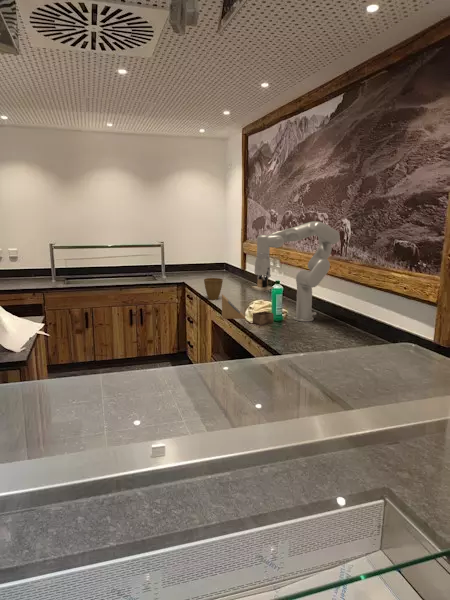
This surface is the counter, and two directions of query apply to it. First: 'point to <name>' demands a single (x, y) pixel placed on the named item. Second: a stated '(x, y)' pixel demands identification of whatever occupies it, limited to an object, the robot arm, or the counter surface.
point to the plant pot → (213, 287)
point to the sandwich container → (230, 310)
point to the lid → (259, 286)
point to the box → (263, 318)
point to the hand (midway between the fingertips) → (262, 285)
